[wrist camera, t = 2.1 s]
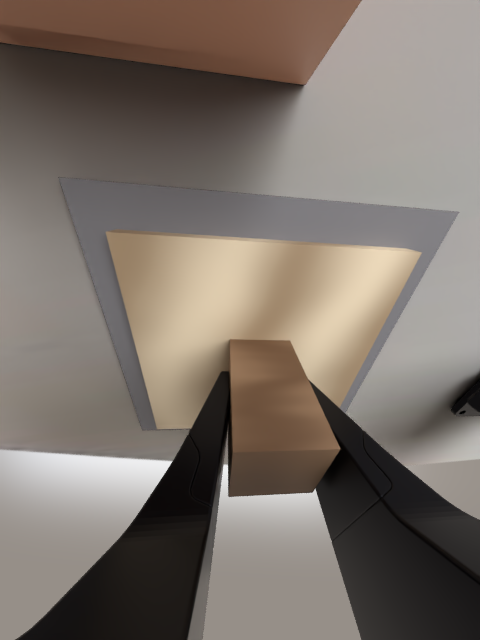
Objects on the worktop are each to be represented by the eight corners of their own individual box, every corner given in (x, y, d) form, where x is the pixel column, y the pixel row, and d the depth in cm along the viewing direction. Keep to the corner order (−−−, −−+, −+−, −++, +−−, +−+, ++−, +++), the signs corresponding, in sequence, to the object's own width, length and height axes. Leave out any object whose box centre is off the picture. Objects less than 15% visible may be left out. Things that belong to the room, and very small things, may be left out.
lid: (406, 248, 8) (662, 312, 3) (325, 415, 15) (376, 524, 10) (116, 229, 7) (-106, 281, 2) (160, 417, 14) (122, 541, 9)
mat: (447, 211, 8) (459, 211, 8) (334, 420, 16) (337, 426, 15) (68, 178, 7) (58, 177, 6) (144, 423, 15) (142, 430, 14)
